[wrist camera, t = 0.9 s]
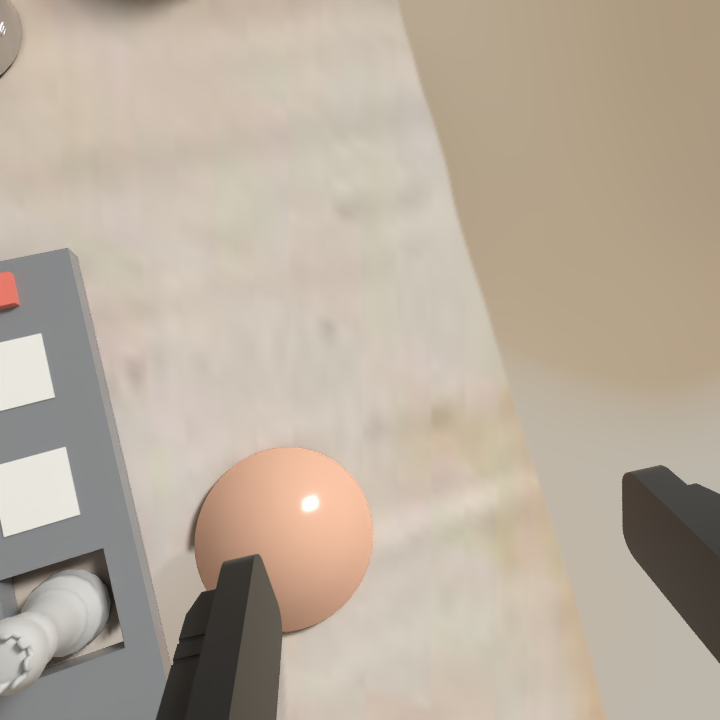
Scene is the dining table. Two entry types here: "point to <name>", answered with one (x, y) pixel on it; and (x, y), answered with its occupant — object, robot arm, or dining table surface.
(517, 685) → the dining table surface
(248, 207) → the dining table surface
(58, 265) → the power strip
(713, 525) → the robot arm
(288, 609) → the peach dome
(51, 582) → the rook chess piece
